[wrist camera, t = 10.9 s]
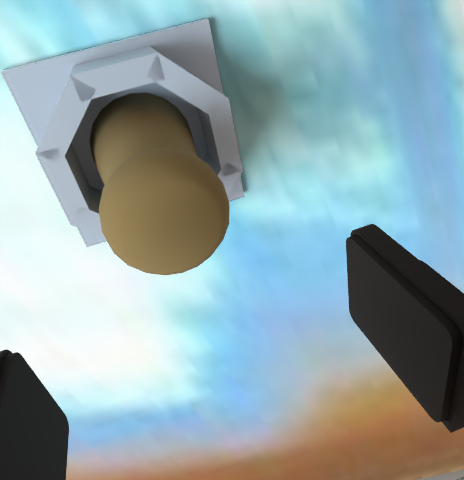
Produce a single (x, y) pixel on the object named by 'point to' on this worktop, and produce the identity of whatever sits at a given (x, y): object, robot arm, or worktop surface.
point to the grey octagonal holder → (114, 86)
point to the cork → (155, 187)
